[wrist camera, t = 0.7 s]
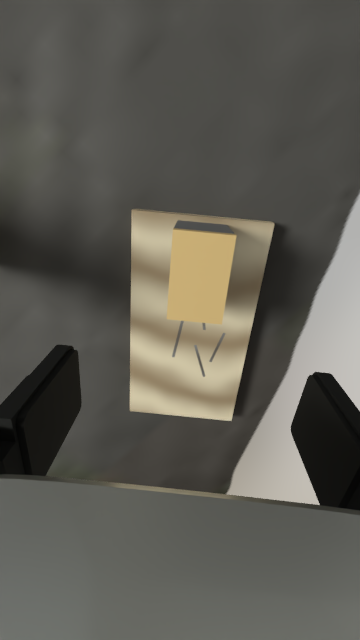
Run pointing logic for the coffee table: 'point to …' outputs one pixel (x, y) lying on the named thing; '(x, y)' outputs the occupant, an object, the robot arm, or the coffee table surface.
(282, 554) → the robot arm
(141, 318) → the board
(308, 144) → the coffee table surface
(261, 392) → the coffee table surface
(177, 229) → the block
